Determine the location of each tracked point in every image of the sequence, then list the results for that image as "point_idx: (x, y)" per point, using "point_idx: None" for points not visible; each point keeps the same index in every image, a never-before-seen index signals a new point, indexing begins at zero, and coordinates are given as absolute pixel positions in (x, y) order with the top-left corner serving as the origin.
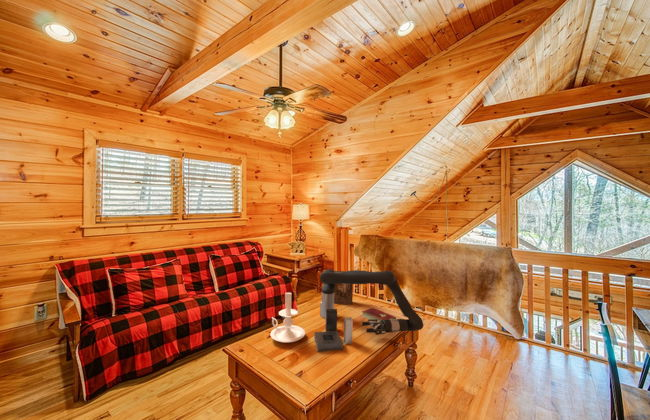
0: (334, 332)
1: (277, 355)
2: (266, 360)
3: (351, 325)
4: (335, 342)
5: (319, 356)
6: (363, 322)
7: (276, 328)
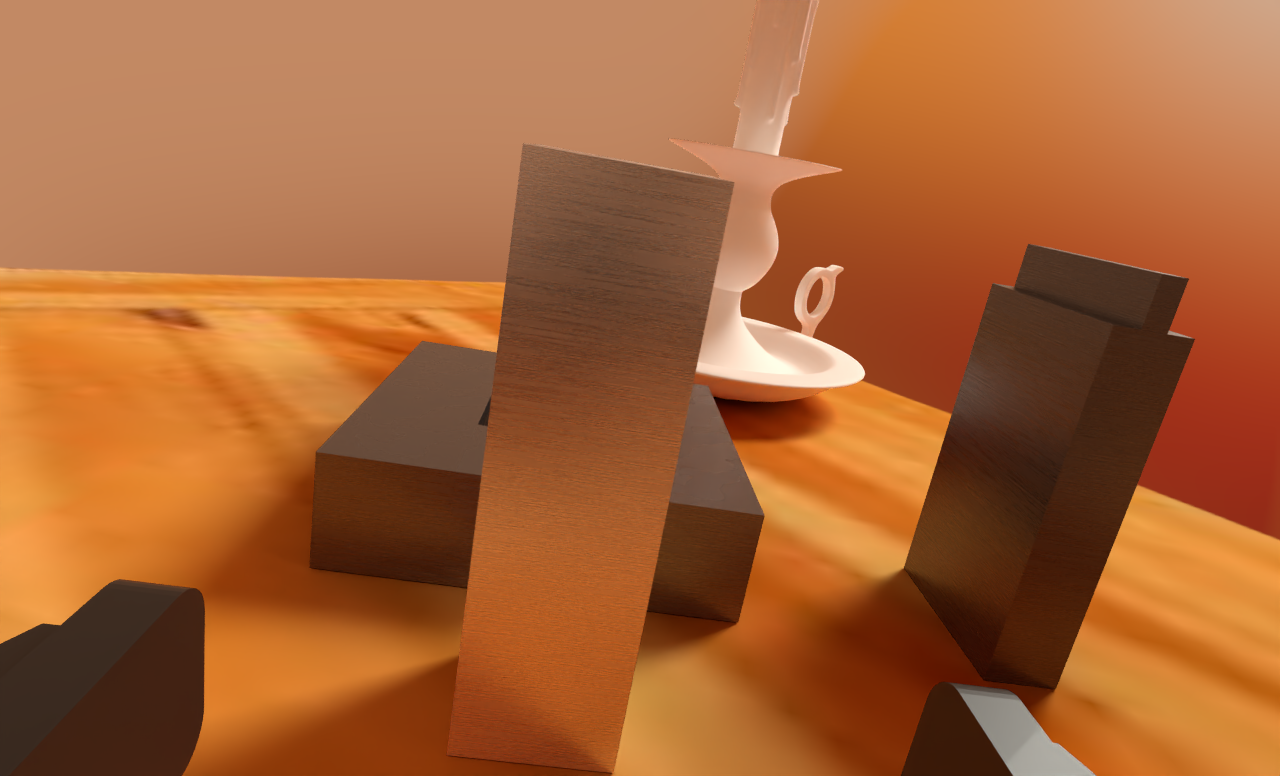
0: (700, 479)
1: (474, 322)
2: (440, 300)
3: (507, 305)
4: (384, 414)
5: (320, 408)
6: (970, 723)
7: (782, 328)
